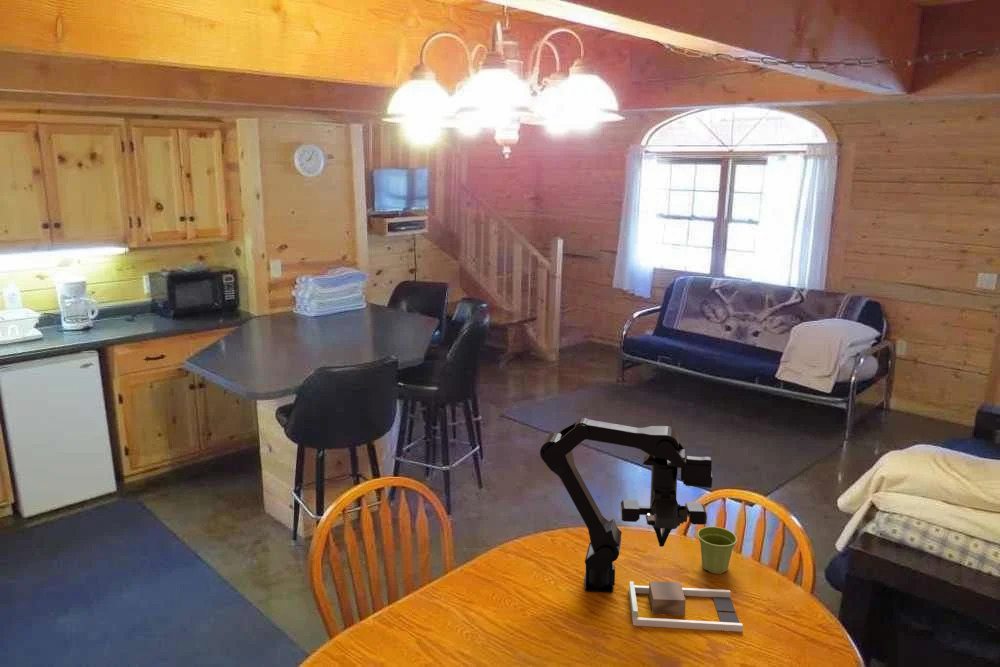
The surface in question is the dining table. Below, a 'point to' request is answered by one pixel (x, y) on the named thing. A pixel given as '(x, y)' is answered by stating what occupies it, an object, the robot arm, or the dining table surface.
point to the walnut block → (667, 598)
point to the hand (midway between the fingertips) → (661, 545)
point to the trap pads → (725, 609)
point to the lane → (681, 623)
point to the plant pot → (716, 548)
